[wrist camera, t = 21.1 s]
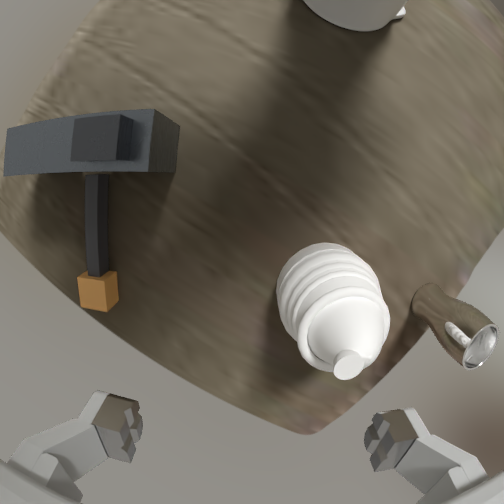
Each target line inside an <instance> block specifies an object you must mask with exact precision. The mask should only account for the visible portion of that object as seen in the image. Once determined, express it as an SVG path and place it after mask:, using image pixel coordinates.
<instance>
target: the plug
mask: <svg viewBox="0 0 504 504" xmlns="http://www.w3.org/2000/svg"><path fill="white" fill-rule="evenodd" d="M108 181H109V174H95V175H86V179H85V240H86V258H87V271H86V272H84V273H83V274H81V275H80V276H78V277H77V280H78V289H79V296H80V303H81V307H84V308H88V309H93V310H99V311H104V312H108V311H109V310H110V309H111V308H112V307H113V306H114V305H115V304H116V303H117V302H118V301H119V297H118V285H117V272H116V271H109V258H108Z"/></svg>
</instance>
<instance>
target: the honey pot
mask: <svg viewBox="0 0 504 504" xmlns="http://www.w3.org/2000/svg"><path fill="white" fill-rule="evenodd" d="M276 295H277V302H278V307H279V313H280V317H281V321H282V323H283V325H284V327H285V329H286V331H287V332H288V333H289V334H290V335H291V337H292V338H293V339H294V340H295V341H297V344H298V349H299V351H300V353H301V355H302V357H303V358H304V359H305V360H306V361H307V362H308V363H309V364H310V365H311V366H313V367H315V368H317V369H319V370H323V371H327V372H334V375H335V376H336V377H337V378H339V379H342V380H347V379H351V378H354V377H355V376H357V375H358V374H359V373H360V372H361V371H362V369H364V368H366V367H368V366H369V365H371V364H372V363H373V362H374V361H375V359H376V358H377V356H378V355H379V353H380V350H381V347H382V345H383V343H384V342H385V340H386V338H387V335H388V331H389V328H390V315H389V311H388V307H387V305H386V304H385V302H384V301H383V297H382V294H381V289H380V285H379V282H378V278H377V276H376V275H375V273H374V272H373V270H372V269H371V267H370V266H369V265H368V264H367V263H365V262H364V261H363V260H362V259H361V258H359V257H358V256H357V255H356V254H354V253H353V252H352V251H351V250H349V249H348V248H346V247H344V246H341V245H339V244H334V243H319V244H313V245H310V246H308V247H306V248H304V249H301V250H300V251H298V252H297V253H296V254H295V255H293V256H292V257H291V258H290V259H289V260H288V261H287V263H286V264H285V265H284V267H283V268H282V270H281V272H280V275H279V277H278V279H277V287H276ZM316 356H317V357H318V358H317V357H316ZM319 358H320V359H319ZM321 359H322V360H323V361H322V360H321Z"/></svg>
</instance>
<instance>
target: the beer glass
mask: <svg viewBox="0 0 504 504" xmlns="http://www.w3.org/2000/svg"><path fill="white" fill-rule="evenodd" d="M411 307H412V312H413V314H414V315H415V316H416V317H417V318H419V319H421V320H423V321H424V322H426V323H427V324H428V325H429V327H430V328H431V330H432V331H433V333H434V335H435V336H436V338H437V340H438V341H439V343H440V344H441V346H442V347H443V348H444V349H445V350H446V352H447V353H448V354H449V355H450V356H451V357H452V358H453V359H454V360H456V361H457V362H458V363H459V364H460V365H462V366H463V367H464V368H465V369H466V370H474V369H476V368H478V367H479V366H481V365H482V364H483V363H484V362H485V361H486V360H487V359H488V358H489V357H490V355H491V354H492V352H493V351H494V349H495V347H496V345H497V342H498V338H499V328H498V326H497V325H495V324H494V323H493V322H492V321H491V320H490V319H489V318H488V317H487V316H485V315H484V314H483V313H482V312H481V311H479V310H478V309H477V308H475V307H474V306H472V305H470V304H467V303H466V302H463V301H460V300H458V299H455V298H452V297H450V296H448V295H447V294H445V293H444V291H443V290H442V289H441V288H440V287H439V286H438V285H437V284H435V283H427V284H425V285H423V286H422V287H421V288H419V289H418V291H417V292H416V293H415V295H414V297H413V300H412V306H411Z"/></svg>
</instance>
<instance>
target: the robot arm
mask: <svg viewBox="0 0 504 504" xmlns="http://www.w3.org/2000/svg"><path fill="white" fill-rule="evenodd" d="M303 1H304V2H305V3H306V4H307V5H308V7H309V8H310V9H312V10H313V11H314V12H315V13H316V14H318V15H319V16H320V17H322V18H324V19H325V20H327V21H329V22H331V23H333V24H335V25H338V26H340V27H343V28H347V29H350V30H356V31H373V30H377V29H380V28H382V27H384V26H385V25H386V24H387V23H388V22H389V21H390V20H392V19H398V18H402V17H403V16H404V15H405V13H406V11H405V8H404V5H405V4H406V2H407V1H408V0H303ZM139 408H140V407H139V403H138V401H136V400H132V399H128V398H125V397H121V396H117V395H114V394H110V393H106V392H103V391H100V390H97V391H95V392H94V393H93V395H92V396H91V398H90V400H89V401H88V402H87V404H86V406H85V407H84V409H83V410H82V412H81V414H80V415H79V417H78V418H77V419H71V420H68V421H66V422H64V423H62V424H59V425H57V426H55V427H52V428H50V429H48V430H45V431H43V432H41V433H38V434H36V435H33V436H31V437H28V438H26V439H23V441H22V442H21V444H20V445H19V446H18V448H17V449H16V451H15V452H14V454H13V455H12V457H11V458H10V460H9V461H8V463H6V462H4V461H3V460H1V459H0V504H82V503H80V502H81V499H82V497H83V495H82V493H81V491H80V490H79V489H78V487H77V486H76V485H75V484H74V481H76V480H77V479H79V478H81V477H82V476H84V475H85V474H86V473H88V472H89V471H91V470H92V469H93V468H95V467H96V466H98V465H100V464H101V463H102V462H104V461H105V460H107V459H108V457H110V458H114V459H117V460H121V461H124V462H128V463H131V461H132V459H133V456H134V453H135V451H136V448H135V445H134V443H136V442H137V441H139V440H140V436H141V434H142V427H143V423H142V417H141V415H140V414H139V413H138V411H139ZM372 421H373V424H372V425H371V426H369V427H368V428H367V430H366V432H365V437H364V444H365V447H366V450H367V451H368V452H370V453H371V454H372V455H371V457H370V461H371V464H372V467H373V469H374V472H378V471H384V470H388V469H393V468H395V470H396V471H397V472H398V473H399V474H400V475H402V476H403V477H404V478H405V479H406V480H407V481H409V482H410V483H411V484H412V485H414V486H415V487H416V488H417V489H419V490H420V491H421V492H422V493H424V494H425V495H424V496H423V497H422V498H421V499H420V500H419V501H418V502H417V503H416V504H504V470H502V471H501V472H499V473H498V474H496V475H495V476H493V477H491V478H489V477H488V475H487V474H486V472H485V470H484V469H483V467H482V465H481V464H480V462H479V461H478V459H477V458H476V457H475V456H473V455H471V454H469V453H467V452H465V451H463V450H462V449H460V448H458V447H456V446H454V445H452V444H450V443H448V442H446V441H445V440H443V439H441V438H439V437H437V436H436V435H434V434H433V435H430V433H429V432H428V430H427V428H426V427H425V425H424V423H423V422H422V420H421V418H420V417H419V415H418V413H417V412H416V410H415V409H414V408H412V407H410V408H404V409H397V410H391V411H384V412H378V413H376V414H375V415H374V417H373V418H372Z"/></svg>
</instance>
